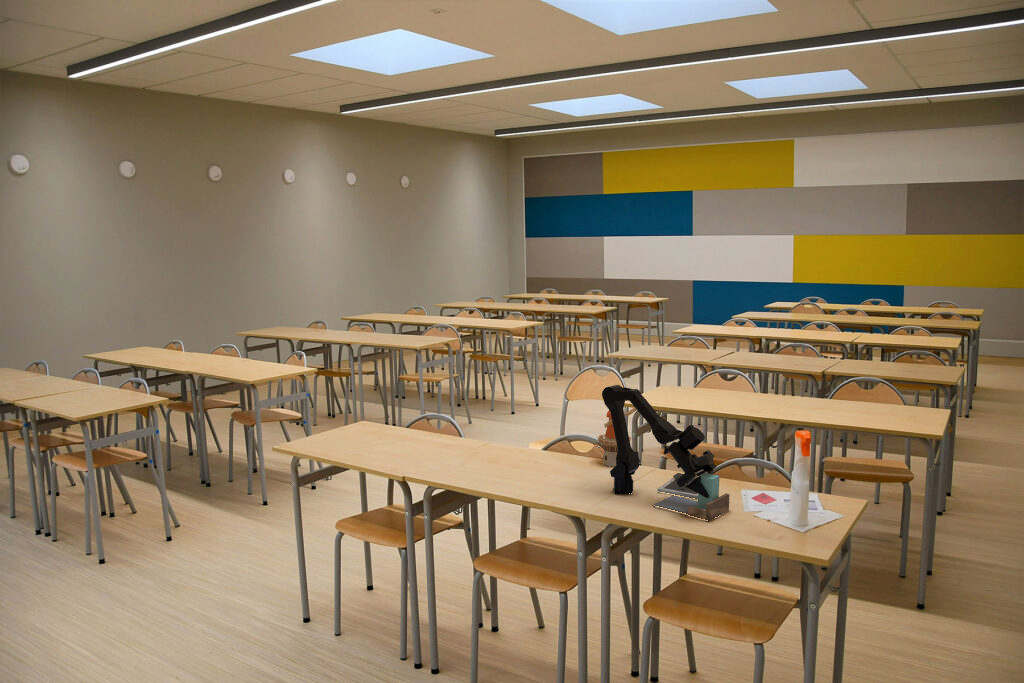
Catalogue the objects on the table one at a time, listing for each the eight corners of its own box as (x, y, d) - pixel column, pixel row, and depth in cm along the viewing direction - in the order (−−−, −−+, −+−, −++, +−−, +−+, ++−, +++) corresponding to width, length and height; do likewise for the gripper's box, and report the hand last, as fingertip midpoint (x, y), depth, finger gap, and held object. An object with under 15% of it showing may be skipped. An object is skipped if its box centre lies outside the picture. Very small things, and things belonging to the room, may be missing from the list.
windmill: (615, 473, 308) (617, 398, 304) (585, 466, 317) (586, 394, 313) (638, 463, 321) (640, 392, 317) (608, 457, 330) (610, 388, 326)
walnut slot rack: (687, 516, 259) (688, 499, 258) (708, 505, 270) (708, 489, 269) (709, 522, 254) (709, 504, 253) (728, 511, 265) (729, 494, 264)
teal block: (697, 513, 262) (698, 476, 260) (704, 510, 266) (705, 473, 264) (710, 517, 259) (712, 479, 257) (717, 513, 262) (719, 476, 261)
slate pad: (653, 507, 268) (653, 504, 268) (672, 497, 278) (672, 495, 278) (687, 515, 260) (687, 512, 260) (705, 506, 270) (705, 503, 269)
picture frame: (677, 479, 302) (657, 494, 284) (677, 472, 301) (657, 486, 284) (717, 486, 293) (699, 501, 276) (717, 479, 293) (699, 494, 275)
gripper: (685, 449, 255) (715, 489, 249) (712, 438, 269) (741, 476, 263) (663, 468, 261) (692, 507, 255) (690, 457, 275) (718, 493, 269)
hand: (712, 495), depth 260 cm, fingers closed on teal block, 5 cm apart
